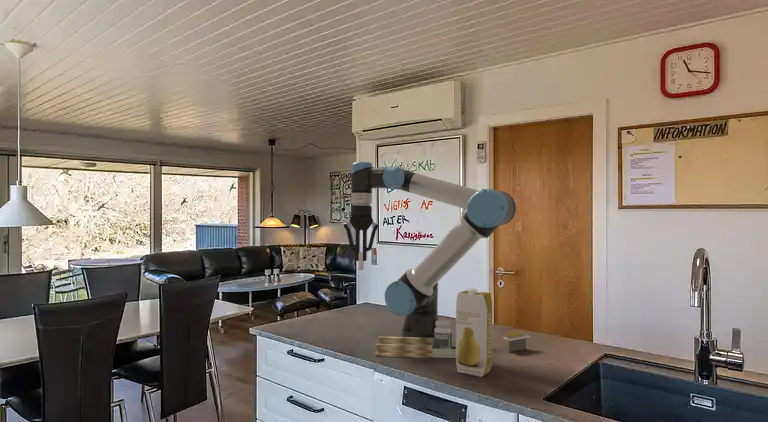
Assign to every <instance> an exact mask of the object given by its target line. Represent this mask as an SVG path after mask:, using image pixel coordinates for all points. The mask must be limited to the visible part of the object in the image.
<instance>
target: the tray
mask: <svg viewBox="0 0 768 422" xmlns="http://www.w3.org/2000/svg"><path fill="white" fill-rule="evenodd" d="M432 347H434V338H432ZM452 347H453V348H452V349H434V348H432V354H433V358H439V359H443V358H446V359H456V338H452ZM454 347H455V348H454Z"/></svg>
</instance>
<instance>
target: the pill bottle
mask: <svg viewBox="0 0 768 422" xmlns="http://www.w3.org/2000/svg"><path fill="white" fill-rule="evenodd" d="M435 325H436V328H435V329H434V346H433V349H453V348H452V339H453V337H452V333H453V332H452V329H451V328H450V326H451V322H450V321H449V320H447V319H446V320H444V319H439V320H438V321H436V324H435Z"/></svg>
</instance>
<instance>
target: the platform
mask: <svg viewBox="0 0 768 422" xmlns="http://www.w3.org/2000/svg"><path fill="white" fill-rule="evenodd" d="M530 337H531V336H530V334H526V333H524V331H523V330H522V331H520V330H519V329H517V330H512V331H511V330H510V331H507V332H506V335H504V336H503V339H504V340H506V341H508V344H507V345H508V346H507V347H508V349H507V350H508V353H512V352H517V351H522V350H526V349H527V339H528V338H530Z"/></svg>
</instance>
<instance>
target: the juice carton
mask: <svg viewBox="0 0 768 422" xmlns="http://www.w3.org/2000/svg"><path fill="white" fill-rule="evenodd" d="M477 290H478V289H477V288H474V287H472V288H468V289H466V290H463V291H460V292H458V293H457V295H456V303H455V307H456V309H455V339H456V347H455V349H456V358H455V362H456V371H457V372H458V373H460V374H464V375H465V374H466V375H470V376H474V377H479V378H482V377H485V376H486V375H487V374H488V373H489V372H490V371H491V369H492V364H493V299H492V298H493V297H492V293H491V292H489V291H488V292H482V291H481V292H479V291H477Z"/></svg>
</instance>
